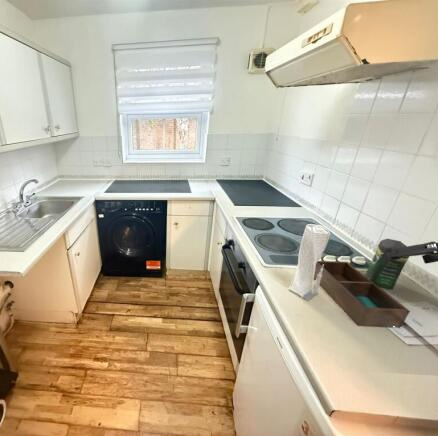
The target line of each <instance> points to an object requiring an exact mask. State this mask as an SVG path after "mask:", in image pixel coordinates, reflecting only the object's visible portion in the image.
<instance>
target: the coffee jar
mask: <svg viewBox="0 0 438 436" xmlns="http://www.w3.org/2000/svg"><path fill="white" fill-rule="evenodd" d="M407 246H408V245H406V244H404V243H403V242H402V241H401V240H397V239H392V238H385V239H382V240H380V241H379V243H378V245H377V247H376V250H375V252H374V254H373V257H372V260H371V261H370V264H369V266H368V268H367V270H366V272H365V274H364V275H365V276H366V277H367V278H368V279H370V280H371V281H372V282H373V283H375V284H376V285H377V286H379V287H380V288H381V289H382V290H390V291H392V290H394V288H395V287H396V284H397V281H398V280H399V278H400V276H401V273H402V271H403V269H404V267H405V265H406V263H407V262H408V261H409V259H410V256H409V257H403V258H401V259H397V260H393V261H388V262H383V260H382V257H381V254H384V253H388V252H391V251H392V249H393V248H395V247H398V248H401V247H407Z"/></svg>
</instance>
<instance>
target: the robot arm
mask: <svg viewBox="0 0 438 436" xmlns="http://www.w3.org/2000/svg"><path fill="white" fill-rule="evenodd" d="M406 246H407V247H401V248H398V247H395V248H393V249H392V251H391V252H388V253H384V254H381V257H382V260H383V262H388V261H393V260H397V259H401V258H403V257H409V258H410V257H416V256H421V257H422V260H423V263H424V264H432V263H437V262H438V242H436V241H433V240H432V241H429V242H425V243H420V244H413V245H406Z"/></svg>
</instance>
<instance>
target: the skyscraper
mask: <svg viewBox="0 0 438 436" xmlns="http://www.w3.org/2000/svg"><path fill="white" fill-rule="evenodd" d="M330 236H331V232H330V230H329V228H326V227H324V225H320V224H314V223H313V224H312V223H309V224H306V225H305V228H304V231H303V234H302V238H301V240H300V245H299V251H298V257H297V265H296V268H295V270H294V271H293V275H292V277H291V281H290V283H289V287H288V291H289V292H291V293H292V294H295V295H296V296H298V297H300V298H301V299H303V300H305V301H306V302H309V301H310V300H312V299H313V298H315V296H318V294H319V293H318V291H319V287H320V285H319V284H320V280H321V278H322V271H323V266H324V264H323V266H322V268H321V269H320V272H319V274H317V278H316V280H315V279H314V274H315V266H316V263H317V262H318V261H320V259H321V257H322V256H323V254H324V252H325V250H326V248H327V245H328V243H329V240H330Z"/></svg>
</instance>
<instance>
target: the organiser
mask: <svg viewBox="0 0 438 436" xmlns="http://www.w3.org/2000/svg"><path fill="white" fill-rule="evenodd" d="M323 264H324V266H323ZM322 266H323V271H322V278H321V280H320V284H319V287H321V288H322V290H323V291H325V292H326V294H327V295H328V296H330V298H331V299H332V300H333V301H334V302H335V303H336V304H337V305H338V306H339V307H340V309H342V311H343V312H344V313H345V314H346V315H347V316H348V317H349V318H350V319H351V320H352V321H353V323H354V324H355V325H357V327H371V328H373V327H374V328H375V327H376V328H392V327H393V326H395V327H401V328H402V327H403V325H404V323H405V321H406V320H407V317H408V316H409V314H410V312H411V311H410V310H409V309H408V308H407V307H406V306H404V305H403V304H402V303H400V302H399V301H398V300H397V299H396V298H394V297H393V296H392V295H390V294H389V293H387V292H386V291H385V289H383V288H380V287H379V286H377V285H376V284H375V283H373V282H372V281H371V280H370V279H368V278H367V277H366V276H365V274H363V273H362V272H361V271H360V270H358V269H357V268H356V267H355V266H353V265H352V264H350V262H348V261H333V260H331V261H329V260H318V262H317V263H316V266H315V274H314V279H313V280H314V281H316V278H317V274H319V272H320V269H321V268H322Z"/></svg>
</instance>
